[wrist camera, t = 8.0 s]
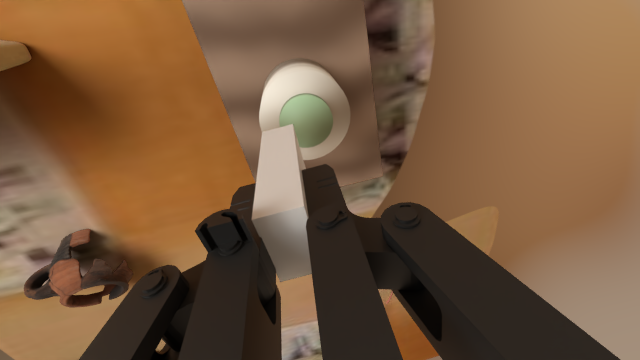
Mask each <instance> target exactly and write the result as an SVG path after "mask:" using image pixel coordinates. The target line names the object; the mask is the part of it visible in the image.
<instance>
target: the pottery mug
mask: <svg viewBox="0 0 640 360" xmlns="http://www.w3.org/2000/svg"><path fill="white" fill-rule="evenodd" d="M90 232H91V230H90V229H85V230H80V231H77V232H74V233H72V234H69V235H68V236H66V237H65V238H64V239H63V240H62V241H61V244H60V246H59V248H58V250H57V252H56V254H55V256H54V259H53V260H52V263H51V264H49V265H47V266H45V267H43V268H41V269H40V270H38V271H37V272H35V273H34V274H33V275H32V276H31V277H30V278H29V279H28V280H27V281H26V283H25V285H24V294H25V295H26V296H27V297H28V298H32V299H36V300H39V299H45V298H49V297H53V296H60V303H61V304H62V305H63V306H66V307H85V306H92V305H97V304H100V303H101V301H102V296H105V295H108V294H110V295H109V300H111V299H114V298H117V297H119V296H121V295H122V294H124V293H125V292H126V291H127V290H128V287H129V284H128V281H129V280H130V279H131V277H132V275H133V271H132V270H131V269H129V268H128V266H127V262H126V260H123V262H122V263H121V265H120V266H119V267H118V268H117V269H116V270H115V271H114V272H112V268H111V267H110V266H109V265H108V264H106V262H105V261H104V260H102V259H94V262H93V266H92V267H91V268H90V270H89V271H88V272H87V274H85V275H84V276H83V277H82V275H81V273H80V263H79V262H78V260H76V259H71V257H72V256H71V250H72V248H73V247H75V246H77V245H81V244H84V243H88V242H89V241H90V236H89V235H90ZM49 278H50V279H49ZM48 279H49V280H48ZM46 280H48V282H47V283H46V284H45V285H44V286H42V285H43V283H44V282H45V281H46ZM99 285H105V287H104V290H103V291H101V292H98V293H93V294H89V295H73V294H74V293H76V292H78V291H80V290H83V289H86V288H90V287H93V286H99Z"/></svg>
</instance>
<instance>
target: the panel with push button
mask: <svg viewBox="0 0 640 360" xmlns="http://www.w3.org/2000/svg"><path fill="white" fill-rule="evenodd" d="M182 2H183V4H184V7H185V9H186V12H187V14H188V17H189V19H190V22H191V24H192V27H193V29H194V31H195V34H196V36H197V39H198V41H199V44H200V46H201V49H202V51H203V54H204V56H205V59H206V61H207V64H208V66H209V69H210V71H211V73H212V76H213V78H214V81H215V83H216V86H217V88H218V91H219V93H220V96H221V98H222V101H223V103H224V106H225V108H226V111H227V113H228V115H229V118H230V120H231V123H232V125H233V128H234V130H235V133H236V135H237V138H238V140H239V143H240V145H241V148H242V150H243V152H244V155H245V157H246V160H247V162H248V165H249V167H250V170H251V172H252V175H253V177H254V180H255V182H256V179H257V171H258V163H259V155H260V146H261V138H262V132H264V131H268V130H272V129H276V128H280V127H283V126H287V125H291V124H293V126H294V130H295V133H296V137H297V140H298V143H299V147H300V150H301V154H302V157H303V161H304V164H305V167H306V169H308V168H312V167H315V166H319V165H323V164H327V165H329V166H330V167H332V168H333V169H334V172H335V175H336V178H337V181H338V184H339V186H340V187H342V186H346V185H350V184H354V183H358V182H362V181H366V180H369V179H373V178H377V177H381V176H383V174H382V164H381V155H380V146H379V137H378V128H377V119H376V110H375V100H374V91H373V82H372V73H371V64H370V55H369V46H368V36H367V27H366V18H365V9H364V0H182Z"/></svg>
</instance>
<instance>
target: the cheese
mask: <svg viewBox="0 0 640 360" xmlns="http://www.w3.org/2000/svg"><path fill="white" fill-rule="evenodd" d="M30 60H31V55H30V53H29V51H28V49H27V48H26V46H25V45H24V44H22V43H19V42H14V41H5V40H0V71H3V70H6V69H8V68H11V67H14V66H17V65H20V64H23V63H26V62H28V61H30Z"/></svg>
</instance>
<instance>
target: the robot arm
mask: <svg viewBox="0 0 640 360" xmlns="http://www.w3.org/2000/svg"><path fill="white" fill-rule="evenodd" d="M195 232H196V234H197V235H198V237H199V239H200V240H201V242H202V243H203V245H204V247H205V248H206V250H207V251H208V254H207V258H206V260H205V261H203V262H202V263H200V264H198V265H196V266H194V267H192V268H190V269H188V270H186V271H184V272H182V273H181V272H180V270H179V269H178V268H177V267H176V266H172V265H166V266H162V267H158V268H156V269H154V270H152V271H150V272H149V273H147V274H146V275H145V276H143V277H142V278H141V279H140V280H139V281H138V282H137V283H136V284H135V285H134V286H133V288H132V289H131V290H130V292H129V293H128V294H127V296H126V297H125V298H124V300H123V301H122V302H121V304H120V305H119V306H118V308H117V309H116V310H115V312H114V313H113V314H112V316H111V317H110V319H109V320H108V321H107V323H106V324H105V325H104V327H103V328H102V329H101V331H100V332H99V333H98V335H97V336H96V337H95V339H94V340H93V341H92V343H91V344H90V345H89V347H88V348H87V349H86V351H85V352H84V353H83V355H82V356H81V358H80V359H79V360H282V354H281V296H280V292H279V290H278V288H277V285H276V274H277V276H278V278H279V280H280V282H283V281H286V280H290V279H294V278H298V277H302V276H306V275H309V274H312V278H313V286H314V294H315V302H316V310H317V318H318V326H319V333H320V341H321V349H322V357H323V360H403V359H402V356H401V353H400V350H399V347H398V345H397V342H396V339H395V336H394V333H393V330H392V328H391V325H390V322H389V319H388V316H387V314H386V311H385V308H384V305H383V302H382V300H381V297H380V294H379V291H378V289H392V291H393V293H394V294H395V296H396V297H397V298H398V300H399V301H400V302H401V304H402V305H403V307H404V308H405V309H406V311H407V312H408V313H409V315H410V316H411V317H412V319H413V320H414V321H415V323H416V324H417V326H418V327H419V328H420V330H421V331H422V332H423V334H424V335H425V336H426V338H427V339H428V340H429V342H430V343H431V345H432V346H433V347H434V349H435V350H436V351H437V353H438V354H439V355H440V357H441V358H442V359H443V360H620V359H619V358H618V357H616V356H615V355H614V354H612V353H611V352H610V351H609V350H607V349H606V348H605V347H604V346H602V345H601V344H600V343H599V342H597V341H596V340H595V339H593V338H592V337H591V336H590V335H588V334H587V333H586V332H585V331H583V330H582V329H581V328H579V327H578V326H577V325H575V324H574V323H573V322H572V321H570V320H569V319H568V318H567V317H565V316H564V315H563V314H561V313H560V312H559V311H558V310H556V309H555V308H554V307H553V306H551V305H550V304H549V303H548V302H546V301H545V300H544V299H542V298H541V297H540V296H539V295H537V294H536V293H535V292H533V291H532V290H531V289H529V288H528V287H527V286H526V285H525V284H523V283H522V282H521V281H519V280H518V279H517V278H516V277H514V276H513V275H512V274H511V273H509V272H508V271H507V270H505V269H504V268H503V267H501V266H500V265H499V264H498V263H497V262H495V261H494V260H493V259H491V258H490V257H489V256H488V255H486V254H485V253H484V252H482V251H481V250H480V249H479V248H477V247H476V246H475V245H474V244H472V243H471V242H470V241H468V240H467V239H466V238H465V237H463V236H462V235H461V234H460V233H458V232H457V231H456V230H454V229H453V228H452V227H451V226H449V225H448V224H447V223H445V222H444V221H443V220H442V219H440V218H439V217H438V216H436V215H435V214H434V213H433V212H431V211H430V210H429V209H428V208H426V207H424V206H422V205H420V204H415V203H411V202H410V203H398V204H395V205H392V206H390V207H389V208H387V209H386V210H385V211H384V212H383V214H382V215H381V218H364V217H360V216H357V215H354V214H352V213H351V212H350V211H349V210H348V208H347V206H346V203H345V201H344V198H343V195H342V192H341V189H340V186H339V184H338V181H337V178H336V175H335V172H334V169H333V168H332V167H330V166H329V165H327V164H323V165H319V166H315V167H312V168H308V169H306V167H305V164H304V161H303V157H302V154H301V150H300V147H299V143H298V140H297V137H296V133H295V130H294V126H293V124H291V125H287V126H283V127H280V128H276V129H272V130H268V131H264V132H262V138H261V146H260V155H259V163H258V171H257V179H256V183H254V184H250V185H247V186H243V187H240V188H239V189H238V190H237V191H236V193H235V194H234V195H233V197H232V202H231V206H230V209H226V210H221V211H219V212H216V213H213V214H212V215H210V216H209V217H207V218H205V219H204V220H203V221H202V222H201V223H200V224H199V225H198V227H197V228H196V230H195ZM161 339H162V340H163V341H164V342H165V343H166V344H165V346H164V347H163V349H162V350H161V351H160V352H159V353H157V352H156V351H155V350H156V348H157V346H158V344H159V342H160V341H161Z"/></svg>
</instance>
